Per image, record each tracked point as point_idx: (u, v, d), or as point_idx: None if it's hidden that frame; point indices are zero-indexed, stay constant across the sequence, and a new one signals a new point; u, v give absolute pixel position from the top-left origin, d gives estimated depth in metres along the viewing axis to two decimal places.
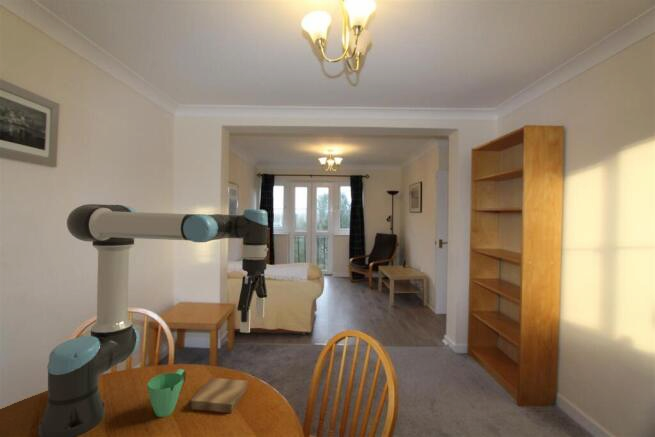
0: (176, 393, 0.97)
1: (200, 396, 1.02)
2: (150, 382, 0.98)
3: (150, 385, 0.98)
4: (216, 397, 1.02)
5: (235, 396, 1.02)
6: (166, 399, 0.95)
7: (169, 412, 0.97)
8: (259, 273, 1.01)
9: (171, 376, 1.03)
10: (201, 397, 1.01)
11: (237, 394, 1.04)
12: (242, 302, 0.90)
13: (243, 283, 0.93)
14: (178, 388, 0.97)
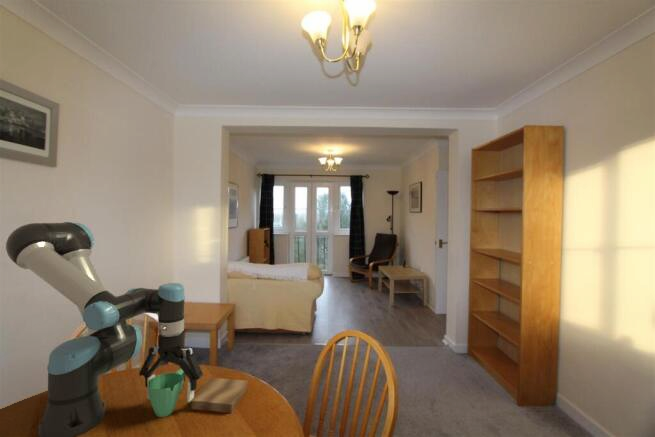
0: (176, 393, 0.97)
1: (200, 396, 1.02)
2: (150, 382, 0.98)
3: (150, 385, 0.98)
4: (216, 397, 1.02)
5: (235, 396, 1.02)
6: (166, 399, 0.95)
7: (169, 412, 0.97)
8: (174, 350, 0.99)
9: (171, 376, 1.03)
10: (201, 397, 1.01)
11: (237, 394, 1.04)
12: None
13: None
14: (178, 388, 0.97)
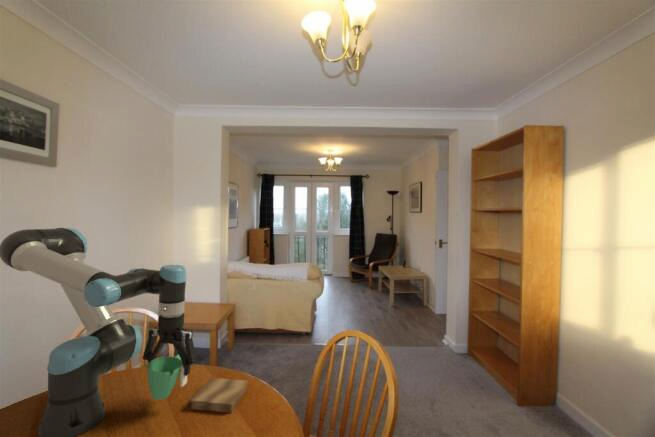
0: (175, 378, 0.97)
1: (200, 396, 1.02)
2: (150, 364, 0.98)
3: (149, 367, 0.98)
4: (216, 397, 1.02)
5: (235, 396, 1.02)
6: (165, 383, 0.95)
7: (165, 396, 0.97)
8: (174, 331, 0.99)
9: (170, 360, 1.03)
10: (201, 397, 1.01)
11: (237, 394, 1.04)
12: None
13: None
14: (177, 373, 0.97)
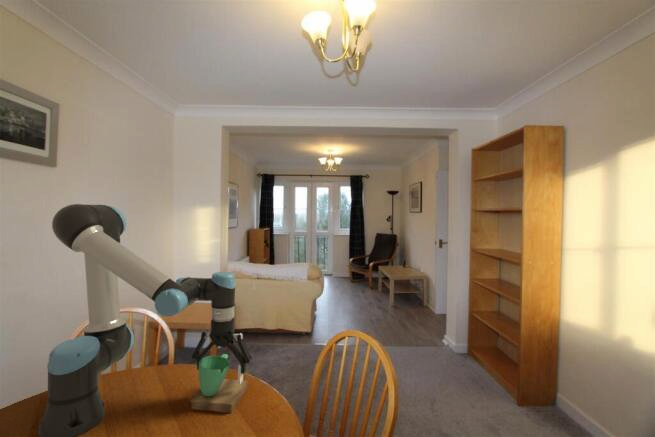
0: (224, 376, 1.03)
1: (200, 396, 1.02)
2: (200, 362, 1.04)
3: (200, 365, 1.04)
4: (216, 397, 1.02)
5: (235, 396, 1.02)
6: (215, 380, 1.00)
7: (214, 393, 1.02)
8: (226, 335, 1.04)
9: (217, 359, 1.09)
10: (201, 397, 1.01)
11: (237, 394, 1.04)
12: None
13: None
14: (226, 371, 1.03)
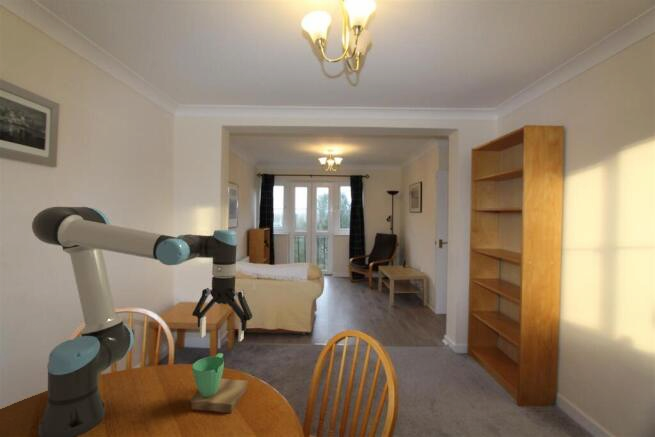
0: (220, 374, 1.02)
1: (200, 396, 1.02)
2: (194, 365, 1.03)
3: (194, 368, 1.03)
4: (216, 397, 1.02)
5: (235, 396, 1.02)
6: (211, 380, 1.00)
7: (214, 392, 1.02)
8: (227, 292, 1.04)
9: (212, 360, 1.08)
10: (201, 397, 1.01)
11: (237, 394, 1.04)
12: None
13: None
14: (221, 370, 1.03)
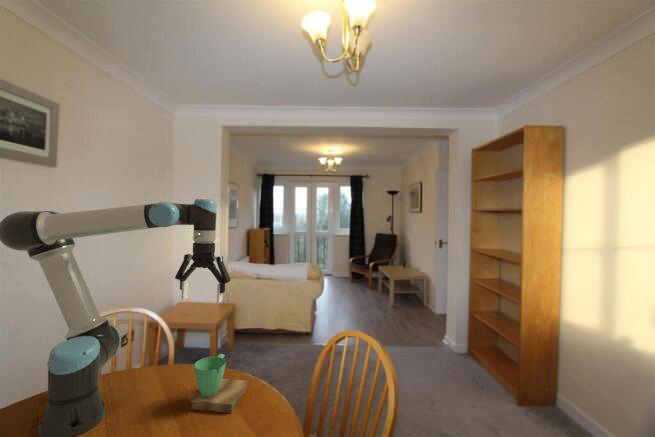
0: (221, 375, 1.02)
1: (200, 396, 1.02)
2: (196, 364, 1.04)
3: (196, 367, 1.04)
4: (216, 397, 1.02)
5: (235, 396, 1.02)
6: (213, 380, 1.00)
7: (214, 393, 1.02)
8: (206, 257, 1.12)
9: (214, 360, 1.08)
10: (201, 397, 1.01)
11: (237, 394, 1.04)
12: None
13: None
14: (223, 370, 1.03)
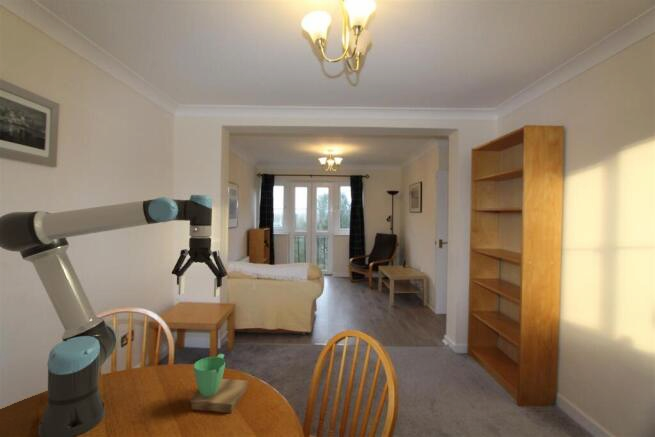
0: (220, 375, 1.02)
1: (200, 396, 1.02)
2: (195, 365, 1.04)
3: (195, 368, 1.04)
4: (216, 397, 1.02)
5: (235, 396, 1.02)
6: (212, 380, 1.00)
7: (214, 393, 1.02)
8: (203, 252, 1.13)
9: (213, 360, 1.08)
10: (201, 397, 1.01)
11: (237, 394, 1.04)
12: None
13: None
14: (222, 370, 1.03)
